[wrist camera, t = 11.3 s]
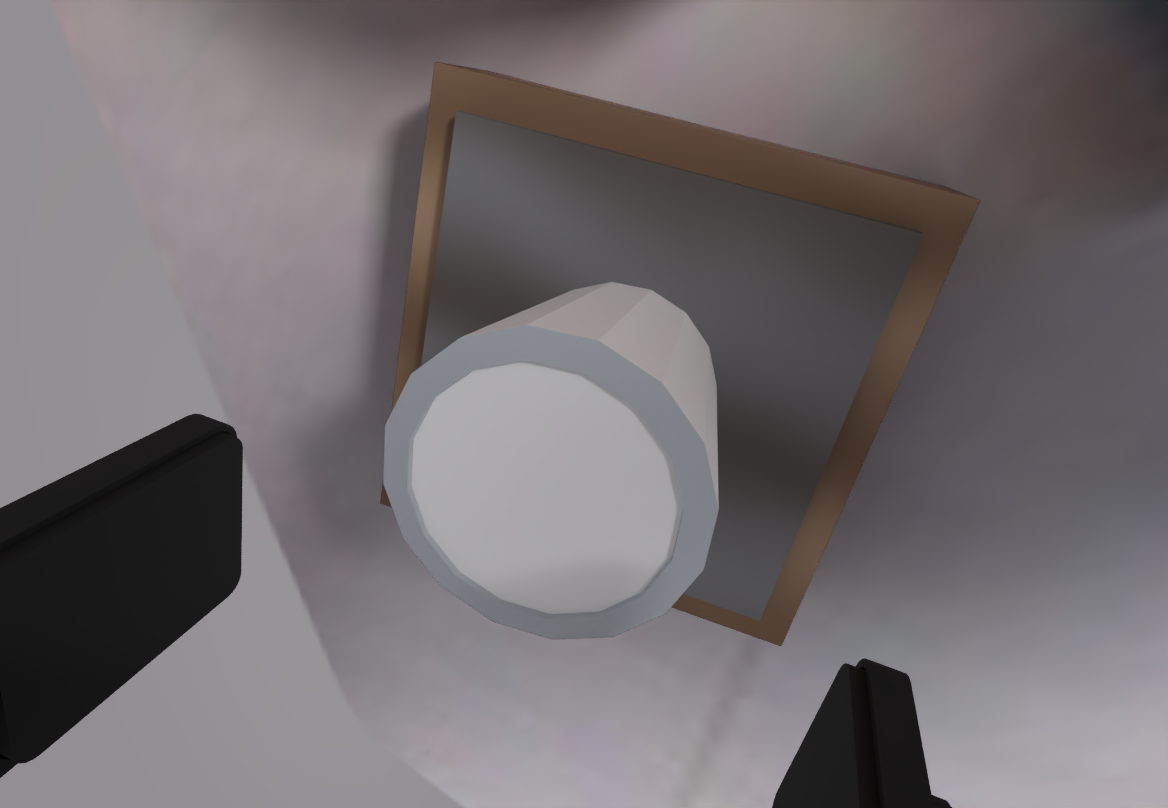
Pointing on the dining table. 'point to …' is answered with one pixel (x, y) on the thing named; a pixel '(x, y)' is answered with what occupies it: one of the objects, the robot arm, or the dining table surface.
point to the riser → (693, 290)
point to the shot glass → (562, 463)
